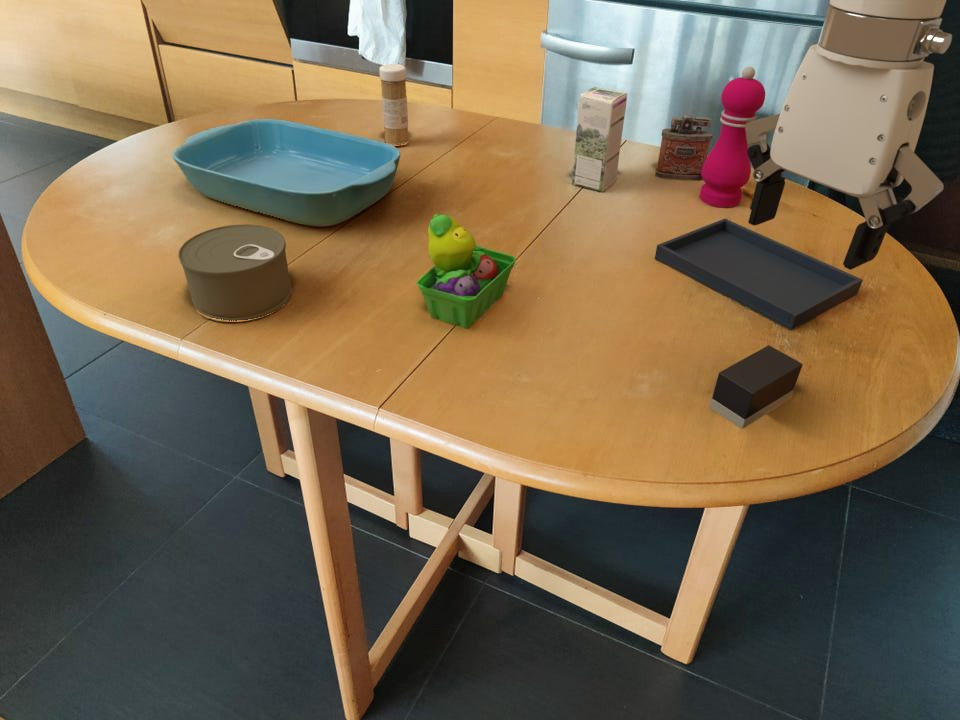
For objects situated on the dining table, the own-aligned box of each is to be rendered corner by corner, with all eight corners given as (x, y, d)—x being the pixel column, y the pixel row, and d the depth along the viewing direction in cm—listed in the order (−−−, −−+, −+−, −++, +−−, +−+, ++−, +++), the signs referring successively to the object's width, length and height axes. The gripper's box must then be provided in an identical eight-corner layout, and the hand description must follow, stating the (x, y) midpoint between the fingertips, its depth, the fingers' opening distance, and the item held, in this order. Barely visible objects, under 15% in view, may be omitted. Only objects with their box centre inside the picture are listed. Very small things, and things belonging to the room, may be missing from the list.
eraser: (790, 398, 73) (803, 363, 70) (741, 429, 69) (753, 393, 67) (757, 379, 76) (768, 344, 73) (709, 407, 72) (718, 372, 69)
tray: (857, 294, 90) (863, 279, 89) (791, 330, 83) (795, 315, 82) (721, 231, 104) (724, 218, 102) (654, 258, 97) (656, 244, 95)
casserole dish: (154, 193, 111) (141, 149, 107) (255, 149, 127) (248, 109, 123) (341, 251, 97) (336, 202, 93) (430, 193, 113) (429, 149, 108)
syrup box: (617, 181, 118) (629, 91, 109) (601, 193, 114) (613, 100, 105) (586, 173, 120) (595, 85, 112) (569, 185, 116) (578, 94, 108)
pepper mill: (688, 191, 115) (714, 60, 103) (730, 189, 116) (761, 59, 104) (708, 210, 109) (738, 74, 97) (751, 207, 110) (786, 72, 98)
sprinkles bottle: (397, 137, 133) (393, 61, 125) (414, 143, 131) (411, 66, 123) (379, 143, 130) (373, 66, 122) (396, 149, 128) (391, 71, 120)
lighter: (655, 178, 119) (665, 118, 113) (654, 170, 122) (664, 111, 116) (704, 181, 118) (717, 121, 112) (702, 173, 121) (714, 114, 115)
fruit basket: (472, 338, 81) (472, 249, 74) (406, 317, 84) (401, 230, 78) (517, 293, 89) (521, 209, 82) (455, 275, 92) (455, 193, 86)
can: (234, 265, 94) (223, 217, 90) (312, 284, 90) (305, 234, 86) (169, 310, 85) (154, 259, 81) (253, 333, 81) (242, 281, 77)
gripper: (1020, 56, 50) (922, 271, 60) (804, 10, 61) (752, 198, 71) (967, 70, 46) (873, 296, 56) (748, 19, 57) (702, 215, 68)
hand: (806, 241), depth 64 cm, fingers open, 9 cm apart
